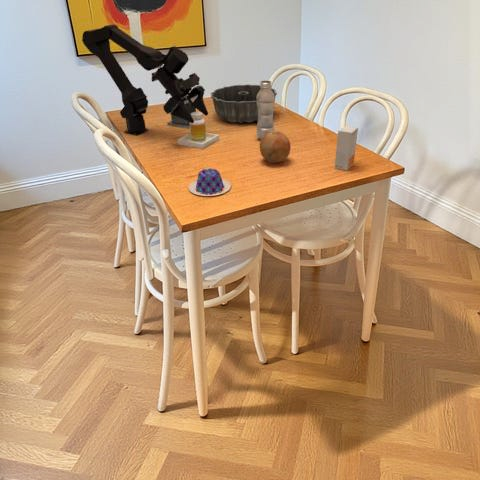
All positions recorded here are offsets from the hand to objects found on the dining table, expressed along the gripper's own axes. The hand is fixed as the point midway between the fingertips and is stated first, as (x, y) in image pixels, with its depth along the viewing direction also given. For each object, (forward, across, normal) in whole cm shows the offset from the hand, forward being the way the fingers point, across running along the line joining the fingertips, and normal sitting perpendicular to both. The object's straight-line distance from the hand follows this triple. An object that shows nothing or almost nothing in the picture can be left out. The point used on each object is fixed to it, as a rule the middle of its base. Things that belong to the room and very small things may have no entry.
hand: (200, 118), depth 158 cm
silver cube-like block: (-6, +16, +19) cm, 25 cm away
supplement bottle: (+5, 0, +7) cm, 8 cm away
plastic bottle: (+20, +12, -7) cm, 24 cm away
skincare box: (+43, 0, -30) cm, 52 cm away
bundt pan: (+6, +33, +7) cm, 34 cm away
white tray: (+5, 0, +7) cm, 9 cm away
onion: (+28, -5, -15) cm, 32 cm away
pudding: (+22, -31, -9) cm, 39 cm away
